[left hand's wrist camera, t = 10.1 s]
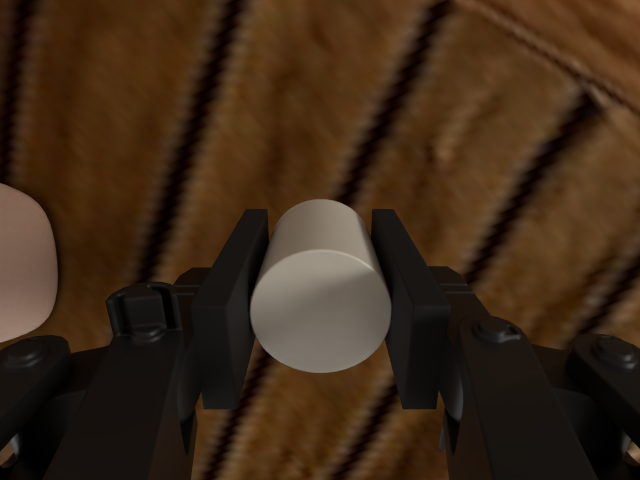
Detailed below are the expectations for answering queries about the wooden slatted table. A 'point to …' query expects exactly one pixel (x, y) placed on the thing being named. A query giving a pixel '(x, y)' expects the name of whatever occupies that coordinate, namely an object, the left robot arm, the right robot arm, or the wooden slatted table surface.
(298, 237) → the canister
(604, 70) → the wooden slatted table surface
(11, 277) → the anatomical model
